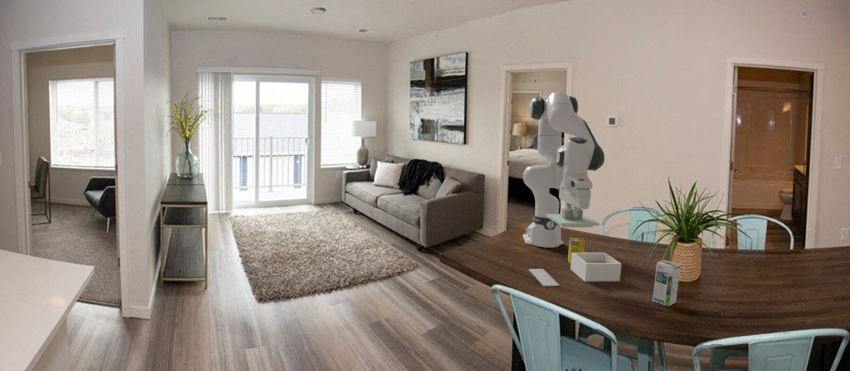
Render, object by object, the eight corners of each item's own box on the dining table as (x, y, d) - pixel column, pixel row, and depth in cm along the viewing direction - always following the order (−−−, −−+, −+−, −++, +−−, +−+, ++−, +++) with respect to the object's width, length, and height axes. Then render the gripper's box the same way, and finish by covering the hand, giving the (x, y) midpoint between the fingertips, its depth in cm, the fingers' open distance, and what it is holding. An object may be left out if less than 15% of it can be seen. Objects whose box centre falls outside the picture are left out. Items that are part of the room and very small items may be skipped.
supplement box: (583, 266, 203) (585, 242, 202) (568, 265, 205) (570, 240, 203) (581, 262, 209) (583, 238, 207) (567, 261, 210) (569, 237, 208)
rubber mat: (528, 269, 198) (528, 269, 197) (565, 269, 199) (566, 268, 199) (543, 286, 180) (543, 285, 180) (584, 285, 182) (584, 284, 182)
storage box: (570, 271, 197) (571, 252, 196) (602, 271, 199) (604, 252, 197) (584, 283, 184) (586, 263, 182) (619, 283, 185) (621, 263, 184)
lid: (545, 218, 193) (546, 205, 192) (581, 218, 194) (582, 205, 194) (560, 228, 178) (561, 213, 177) (598, 228, 180) (600, 213, 179)
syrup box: (651, 301, 169) (656, 261, 166) (660, 297, 172) (665, 259, 170) (667, 307, 164) (672, 266, 162) (676, 303, 168) (681, 263, 165)
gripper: (556, 176, 193) (554, 209, 195) (578, 184, 173) (575, 221, 175) (571, 176, 194) (568, 209, 196) (594, 184, 174) (591, 221, 176)
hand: (572, 215), depth 186 cm, fingers closed on lid, 3 cm apart
